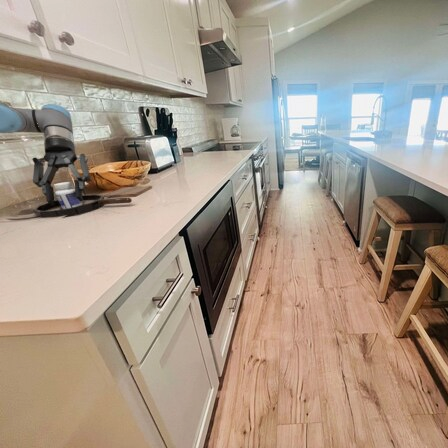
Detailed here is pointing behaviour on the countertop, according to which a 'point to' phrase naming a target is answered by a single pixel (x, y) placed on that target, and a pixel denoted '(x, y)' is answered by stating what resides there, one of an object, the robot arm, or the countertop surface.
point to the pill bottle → (66, 195)
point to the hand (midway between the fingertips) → (65, 200)
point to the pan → (79, 209)
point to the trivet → (128, 191)
